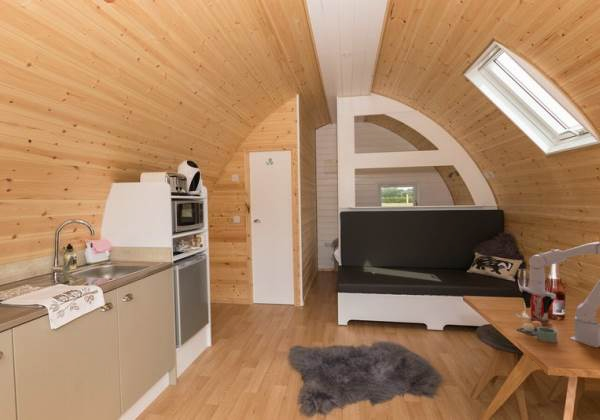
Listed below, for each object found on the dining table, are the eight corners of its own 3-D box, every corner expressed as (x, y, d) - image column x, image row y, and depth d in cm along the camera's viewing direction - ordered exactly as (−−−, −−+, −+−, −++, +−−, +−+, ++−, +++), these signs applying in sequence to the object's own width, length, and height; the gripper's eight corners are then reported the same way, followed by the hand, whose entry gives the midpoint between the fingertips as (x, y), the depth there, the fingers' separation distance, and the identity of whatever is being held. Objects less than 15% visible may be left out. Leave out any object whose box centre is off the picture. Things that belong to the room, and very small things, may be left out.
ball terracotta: (544, 330, 151) (544, 321, 150) (538, 331, 149) (538, 323, 149) (534, 327, 154) (534, 318, 154) (529, 328, 153) (529, 320, 152)
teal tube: (560, 341, 140) (560, 331, 140) (550, 344, 137) (550, 334, 137) (542, 335, 146) (542, 325, 146) (533, 338, 143) (533, 328, 143)
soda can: (531, 320, 164) (532, 294, 164) (529, 315, 170) (529, 291, 170) (549, 322, 161) (549, 296, 160) (546, 318, 167) (546, 292, 167)
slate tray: (548, 331, 150) (548, 329, 150) (532, 336, 145) (532, 334, 145) (532, 326, 156) (532, 324, 156) (516, 330, 151) (516, 328, 151)
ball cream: (536, 332, 148) (536, 323, 148) (530, 334, 146) (530, 325, 146) (526, 329, 152) (526, 320, 152) (521, 330, 150) (521, 322, 150)
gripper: (560, 283, 146) (559, 313, 146) (526, 276, 159) (526, 304, 160) (550, 285, 143) (550, 316, 143) (516, 278, 156) (516, 306, 157)
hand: (536, 310), depth 151 cm, fingers open, 7 cm apart
